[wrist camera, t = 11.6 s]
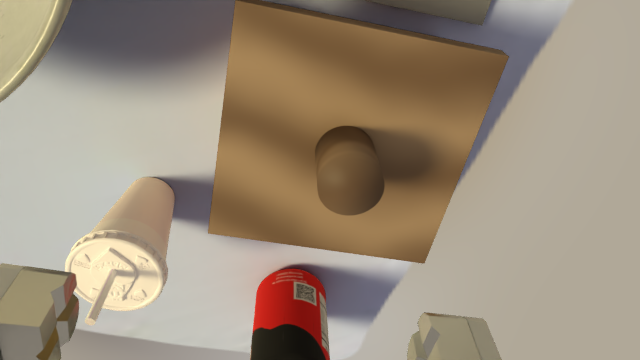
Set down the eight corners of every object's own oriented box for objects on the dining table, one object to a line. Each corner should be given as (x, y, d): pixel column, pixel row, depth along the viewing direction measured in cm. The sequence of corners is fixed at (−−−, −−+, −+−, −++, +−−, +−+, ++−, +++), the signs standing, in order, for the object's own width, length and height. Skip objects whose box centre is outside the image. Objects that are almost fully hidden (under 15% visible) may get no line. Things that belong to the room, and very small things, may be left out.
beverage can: (273, 253, 44) (266, 365, 34) (336, 275, 46) (347, 389, 36) (246, 300, 47) (233, 417, 37) (307, 319, 49) (309, 436, 39)
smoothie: (189, 164, 39) (142, 289, 27) (193, 229, 43) (153, 366, 31) (105, 160, 39) (20, 285, 27) (116, 226, 42) (45, 364, 30)
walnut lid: (237, -5, 26) (225, 19, 22) (501, 50, 28) (539, 82, 24) (210, 222, 34) (197, 274, 29) (420, 252, 36) (438, 305, 31)
